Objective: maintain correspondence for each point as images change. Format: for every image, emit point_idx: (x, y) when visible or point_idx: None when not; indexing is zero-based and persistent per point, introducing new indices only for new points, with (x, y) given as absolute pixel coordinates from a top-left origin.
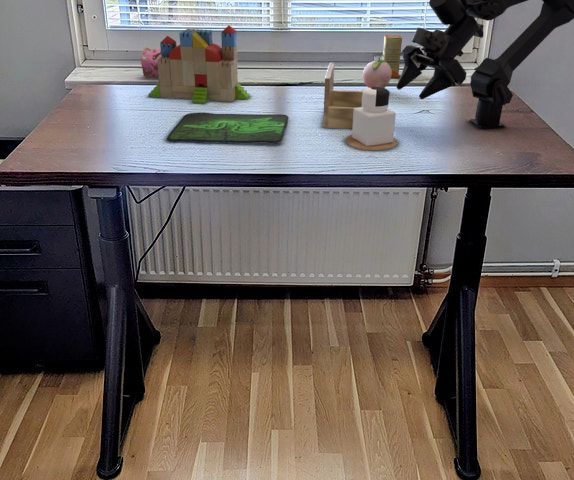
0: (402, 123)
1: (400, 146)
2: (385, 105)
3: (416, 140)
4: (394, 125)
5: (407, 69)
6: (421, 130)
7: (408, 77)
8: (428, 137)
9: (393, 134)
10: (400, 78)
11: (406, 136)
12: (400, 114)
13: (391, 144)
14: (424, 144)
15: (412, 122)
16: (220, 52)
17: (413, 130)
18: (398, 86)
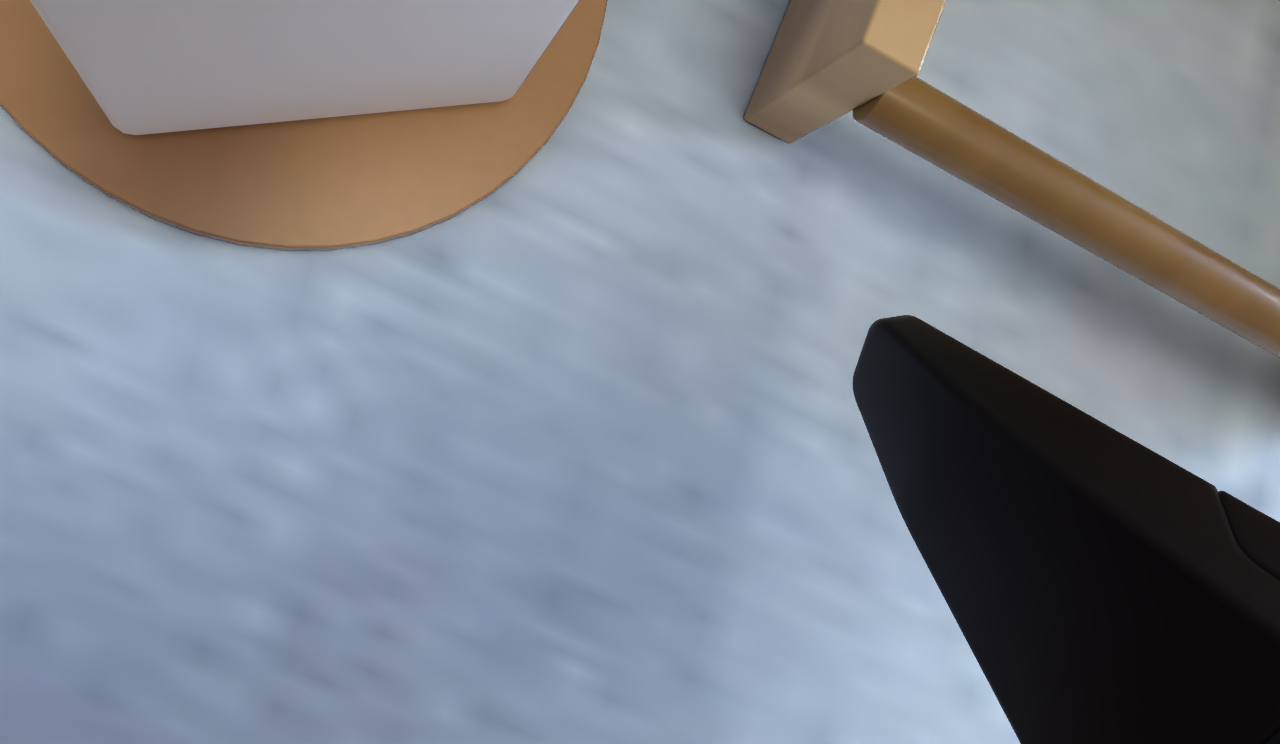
0: (859, 608)
1: (19, 206)
2: None
3: (205, 520)
4: (75, 62)
5: (1261, 651)
6: (569, 740)
7: (1070, 656)
8: (281, 727)
9: (97, 100)
10: (1059, 420)
11: (395, 458)
12: None
13: (52, 83)
14: (7, 560)
15: (867, 741)
16: None
17: (593, 639)
18: (886, 353)
